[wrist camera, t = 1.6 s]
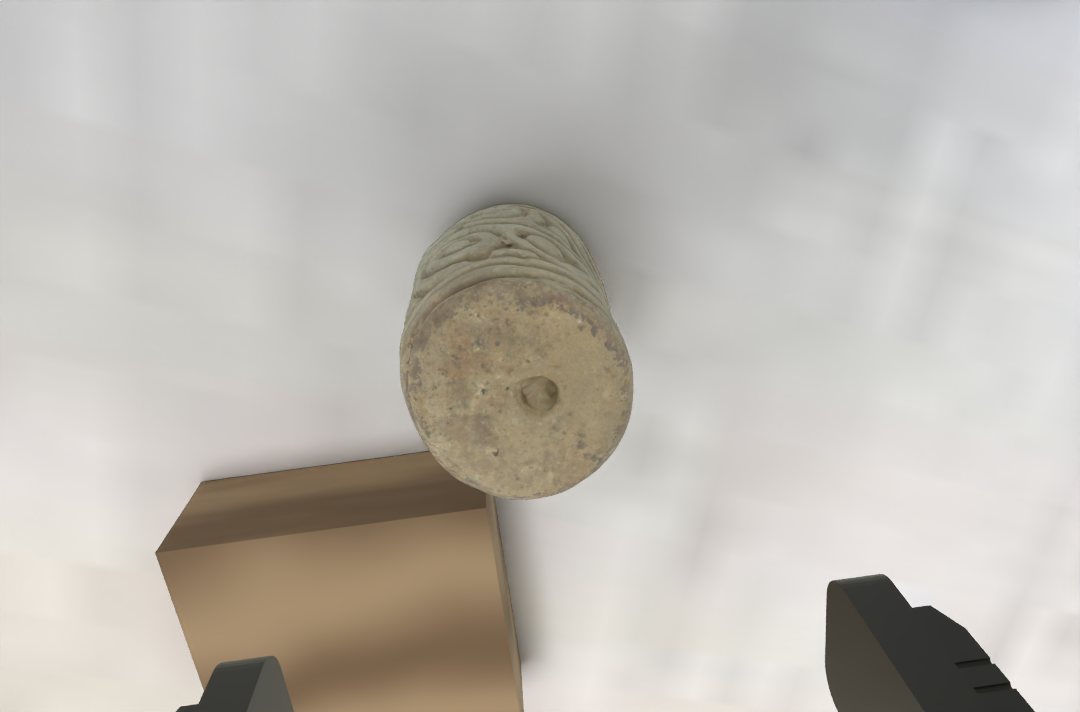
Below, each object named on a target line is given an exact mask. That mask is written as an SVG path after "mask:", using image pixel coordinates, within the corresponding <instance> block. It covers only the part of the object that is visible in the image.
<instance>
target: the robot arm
mask: <svg viewBox="0 0 1080 712" xmlns="http://www.w3.org/2000/svg"><path fill="white" fill-rule="evenodd" d="M825 668H826V675H827V681H828V685H829V689H830V692H831V696H832V698H833V701H834V704H835V706H836V708H837V710H838V712H1035V711H1034V710H1033V709H1032V708H1031V707H1030V705H1029V704H1028V703H1027V702H1026V701H1025V699H1024V698H1023V697H1022V696H1021V695H1020V693H1019V692H1018V691H1017V690H1016V689H1012V687H1011V685H1010V681H1009V680H1008V679H1007V678H1006V677H1005V675H1004V674H1003V673H1002V672H1001V671H1000V669H999V668H998V667H997V666H996V665H995V664H992V663H991V661H990V657H989V656H988V655H987V654H986V653H985V651H984V650H983V649H982V648H981V647H980V645H979V644H978V643H977V642H976V641H975V639H974V638H973V637H972V636H971V635H970V633H969V632H968V631H967V630H966V629H965V628H964V627H962V626H961V625H959V624H958V623H956V622H955V621H953V620H952V619H950V618H949V617H947V616H946V615H944V614H943V613H941V612H939V611H938V610H936V609H935V608H933V607H932V606H922V607H915V608H912V607H911V606H910V605H909V603H908V602H907V601H906V599H905V598H904V597H903V595H902V594H901V593H900V592H899V590H898V589H897V588H896V586H895V585H894V584H893V582H892V581H891V580H890V579H889V578H888V577H887V576H885V575H883V574H878V575H870V576H863V577H856V578H848V579H841V580H834V581H831V582H830V583H829V585H828V588H827V606H826V647H825ZM176 712H294V709H293V706H292V703H291V699H290V696H289V693H288V689H287V686H286V683H285V679H284V676H283V673H282V669H281V666H280V664H279V662H278V660H277V658H276V657H274V656H265V657H257V658H250V659H243V660H236V661H228V662H222V663H219V664H218V665H217V666H216V667H215V669H214V671H213V673H212V675H211V677H210V679H209V682H208V684H207V686H206V688H205V691H204V693H203V695H202V697H201V700H200V702H199V704H196V705H189V706H182V707H180V708H179V709H178V710H177V711H176Z"/></svg>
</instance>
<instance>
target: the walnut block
mask: <svg viewBox="0 0 1080 712" xmlns="http://www.w3.org/2000/svg"><path fill="white" fill-rule="evenodd" d="M155 554H156V556H157V559H158V562H159V565H160V568H161V571H162V573H163V576H164V579H165V582H166V585H167V587H168V590H169V593H170V596H171V599H172V602H173V604H174V607H175V610H176V613H177V616H178V619H179V621H180V624H181V627H182V630H183V633H184V636H185V638H186V641H187V644H188V647H189V650H190V653H191V655H192V658H193V661H194V664H195V667H196V669H197V672H198V675H199V678H200V681H201V684H202V686H203V689H204V691H205V688H206V686H207V684H208V682H209V679H210V677H211V675H212V673H213V671H214V669H215V667H216V666H217V665H218V664H219V663H222V662H228V661H236V660H243V659H250V658H257V657H265V656H274V657H276V658H277V660H278V662H279V664H280V666H281V669H282V673H283V676H284V679H285V683H286V686H287V689H288V693H289V696H290V699H291V703H292V706H293V709H294V712H524V709H523V692H522V676H521V663H520V657H519V650H518V644H517V638H516V632H515V625H514V619H513V613H512V606H511V600H510V594H509V587H508V581H507V575H506V568H505V562H504V556H503V549H502V543H501V537H500V531H499V524H498V518H497V512H496V505H495V499H494V496H493V495H490V494H488V493H485V492H483V491H481V490H479V489H476V488H474V487H471V486H469V485H467V484H465V483H463V482H461V481H460V480H458V479H456V478H455V477H454V476H452V475H451V474H450V473H449V472H448V471H447V470H445V469H444V468H443V467H442V466H441V464H440V463H439V462H438V461H437V460H436V459H435V457H434V456H433V455H432V453H431V452H430V451H429V452H421V453H414V454H407V455H399V456H392V457H384V458H377V459H369V460H362V461H355V462H347V463H340V464H332V465H325V466H317V467H310V468H303V469H295V470H288V471H280V472H273V473H265V474H258V475H250V476H243V477H236V478H228V479H221V480H213V481H206V482H201V484H200V485H199V487H198V488H197V490H196V491H195V493H194V494H193V496H192V498H191V499H190V501H189V502H188V504H187V505H186V507H185V508H184V510H183V511H182V513H181V514H180V516H179V517H178V519H177V520H176V522H175V524H174V525H173V527H172V528H171V530H170V531H169V533H168V534H167V536H166V537H165V539H164V540H163V542H162V543H161V545H160V547H159V548H158V550H157V551H156V553H155Z"/></svg>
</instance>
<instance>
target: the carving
mask: <svg viewBox="0 0 1080 712" xmlns="http://www.w3.org/2000/svg"><path fill="white" fill-rule="evenodd" d="M400 376H401V385H402V390H403V394H404V397H405V400H406V404H407V407H408V409H409V412H410V415H411V418H412V420H413V422H414V425H415V427H416V429H417V431H418V433H419V435H420V437H421V438H422V440H423V442H424V443H425V445H426V446H427V448H428V449H429V451H430V452H431V453H432V455H433V456H434V457H435V459H436V460H437V461H438V462H439V463H440V464H441V466H442V467H443V468H444V469H445V470H447V471H448V472H449V473H450V474H451V475H452V476H454V477H455V478H456V479H458V480H460V481H461V482H463V483H465V484H467V485H469V486H471V487H474V488H476V489H479V490H481V491H483V492H485V493H488V494H490V495H493V496H496V497H500V498H505V499H516V500H528V499H537V498H542V497H547V496H552V495H555V494H558V493H562V492H564V491H566V490H568V489H570V488H572V487H573V486H575V485H576V484H578V483H579V482H581V481H582V480H584V479H586V478H587V477H589V476H590V475H591V474H593V473H594V472H595V471H596V470H597V469H599V468H600V467H601V465H602V464H603V463H604V462H605V461H606V460H607V459H608V458H609V457H610V456H611V454H612V453H613V452H614V450H615V449H616V447H617V446H618V444H619V442H620V440H621V439H622V437H623V435H624V433H625V430H626V428H627V425H628V422H629V419H630V415H631V408H632V401H633V372H632V364H631V360H630V356H629V354H628V350H627V348H626V345H625V342H624V340H623V337H622V335H621V333H620V331H619V329H618V327H617V325H616V324H615V322H614V320H613V318H612V316H611V314H610V309H609V304H608V300H607V297H606V294H605V291H604V288H603V284H602V280H601V277H600V275H599V272H598V270H597V268H596V266H595V263H594V261H593V259H592V257H591V255H590V253H589V252H588V250H587V248H586V247H585V245H584V244H583V242H582V240H581V239H580V238H579V236H578V235H577V234H576V233H575V232H574V231H573V230H572V229H571V228H570V227H569V226H568V225H566V224H565V223H564V222H563V221H561V220H560V219H559V218H558V217H556V216H554V215H552V214H550V213H548V212H546V211H543V210H541V209H538V208H536V207H533V206H530V205H524V204H504V205H503V204H502V205H496V206H492V207H489V208H486V209H482V210H479V211H477V212H475V213H473V214H470V215H468V216H466V217H465V218H463V219H461V220H460V221H458V222H457V223H456V224H455V225H453V226H452V227H451V228H449V229H448V230H447V231H446V232H445V233H444V234H443V235H442V236H441V237H440V238H439V239H438V240H437V241H436V242H434V243H433V244H432V245H431V246H430V247H429V248H428V249H427V251H426V252H425V254H424V255H423V257H422V259H421V261H420V264H419V266H418V269H417V272H416V275H415V279H414V284H413V292H412V295H411V300H410V304H409V307H408V310H407V313H406V317H405V323H404V330H403V333H402V337H401V343H400Z"/></svg>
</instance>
